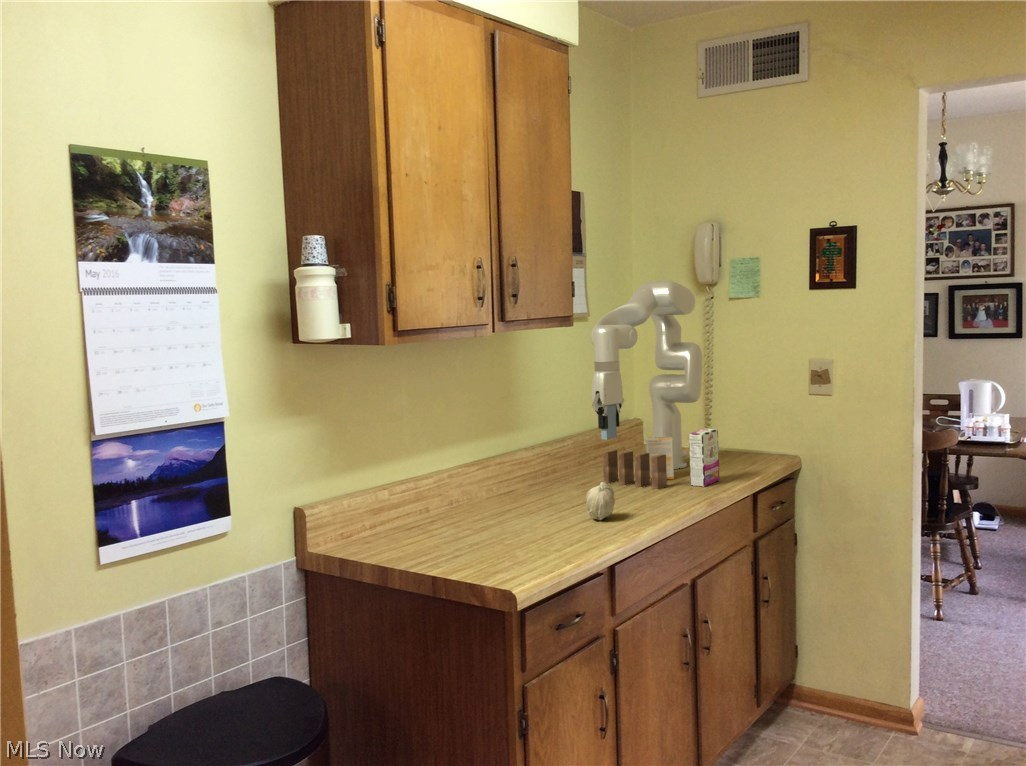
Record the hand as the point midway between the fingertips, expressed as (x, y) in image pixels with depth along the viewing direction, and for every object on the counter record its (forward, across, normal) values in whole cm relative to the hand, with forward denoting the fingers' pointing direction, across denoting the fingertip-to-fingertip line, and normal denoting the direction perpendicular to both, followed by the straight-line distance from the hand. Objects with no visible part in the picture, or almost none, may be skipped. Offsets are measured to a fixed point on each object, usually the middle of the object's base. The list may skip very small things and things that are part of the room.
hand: (609, 426), depth 269 cm
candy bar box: (+20, -23, +19) cm, 35 cm away
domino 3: (+19, -9, -1) cm, 21 cm away
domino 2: (+19, -9, -7) cm, 22 cm away
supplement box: (+20, -22, +3) cm, 30 cm away
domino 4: (+19, -9, +5) cm, 22 cm away
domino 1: (+4, 0, 0) cm, 4 cm away
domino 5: (+19, -10, +11) cm, 24 cm away
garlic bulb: (+19, +32, +21) cm, 43 cm away
